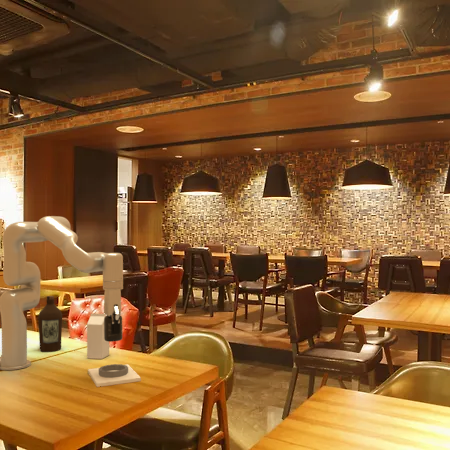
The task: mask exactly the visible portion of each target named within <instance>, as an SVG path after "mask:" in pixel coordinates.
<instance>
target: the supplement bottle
mask: <svg viewBox="0 0 450 450" xmlns="http://www.w3.org/2000/svg"><path fill="white" fill-rule="evenodd" d="M113 315H115V314H113ZM113 319H114V317H113ZM119 320H120V333H119V334H111V324H112V320H111V315H110V316H107V315H106V316H105V318H104V339H105V341H109V343H110V342H111V343H112V342H118V341H122V340H123V316H122V314H121V315H120V316H119Z"/></svg>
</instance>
